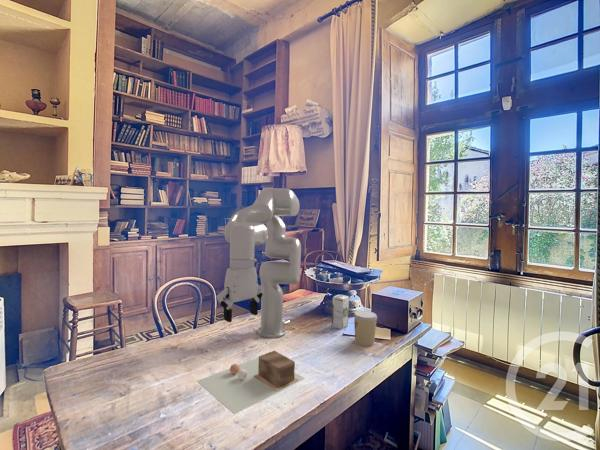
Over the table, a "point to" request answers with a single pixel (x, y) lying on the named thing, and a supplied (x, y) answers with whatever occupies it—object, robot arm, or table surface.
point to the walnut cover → (276, 368)
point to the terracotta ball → (234, 369)
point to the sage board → (239, 387)
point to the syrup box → (340, 311)
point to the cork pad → (272, 384)
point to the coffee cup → (365, 327)
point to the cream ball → (242, 374)
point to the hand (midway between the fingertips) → (241, 317)
